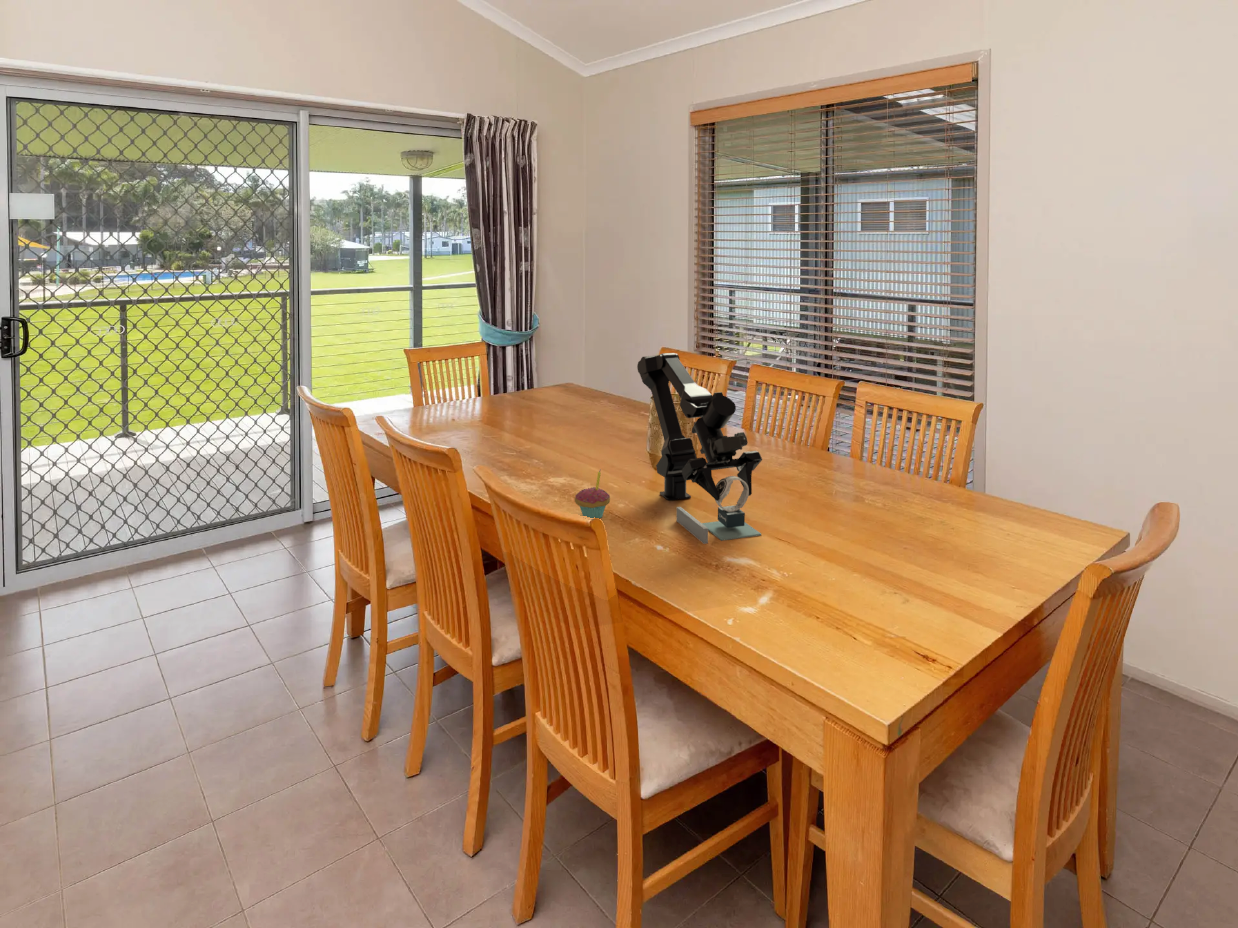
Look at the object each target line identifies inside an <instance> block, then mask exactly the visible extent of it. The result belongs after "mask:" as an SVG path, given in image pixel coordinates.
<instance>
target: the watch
mask: <svg viewBox="0 0 1238 928" xmlns="http://www.w3.org/2000/svg"><path fill="white" fill-rule="evenodd" d="M734 481H739V482H740V481H742V482H743V485H744V488H743V487H742V488H743V489H742V491H741V494H740V496H739V498H738V500H737V501H736V504H734V505H727V506H722V502H723V500H724V499H725V498H726V497H727V496H728V495H729V493H730V491H731V486H732V484H733V482H734ZM715 486H716V488H717V491H718V493H719V497H720V499H719V500H718V501H717V500H715V499H714V500H715V503H716V504H717V506H718V507H717V521H720V522H721V523H722V524H723V525H724V526H725V527H727V528H730V527H739V526H744V524H745V523H746V521H745V520H746V519H745V518H746V513H745V511H743V510H742V508H744V506H745V505H746V503H747V501H748V498H749V497H750V496H749V488H748V485H747V483H746V482H745V481H743V480H742V479H740V478H739V477H738V476H737V475H730V476H726V477H723V478H721V479H720V480H719V481H718V482H717V483H716V484H715Z"/></svg>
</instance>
